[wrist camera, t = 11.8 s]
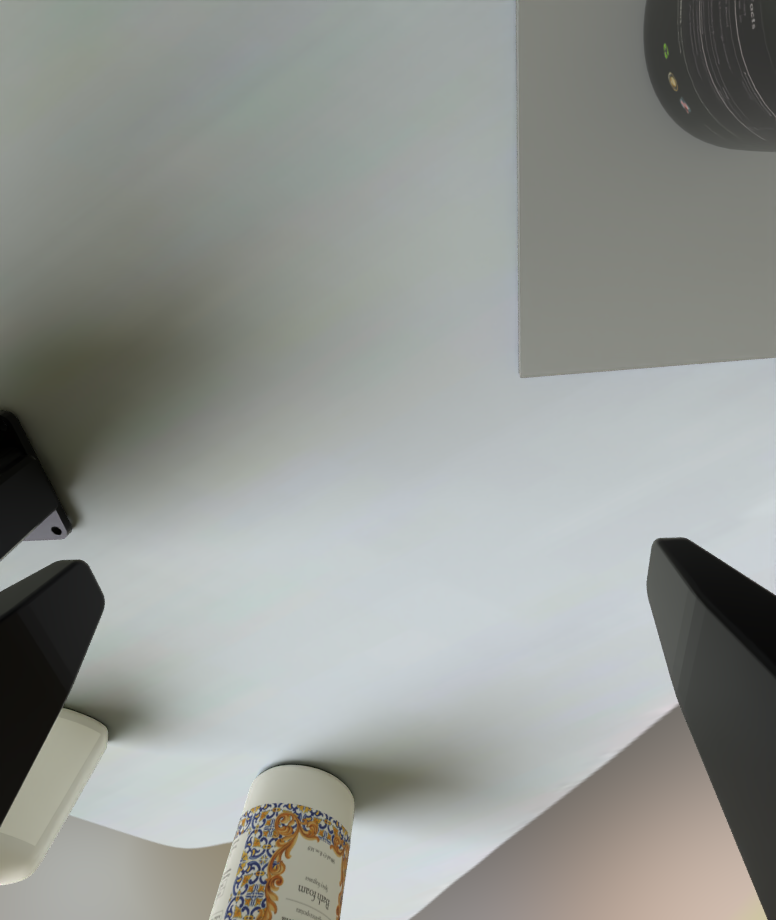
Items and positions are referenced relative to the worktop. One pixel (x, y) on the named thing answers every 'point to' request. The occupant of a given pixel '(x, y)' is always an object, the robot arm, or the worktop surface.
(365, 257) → the worktop surface
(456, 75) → the worktop surface
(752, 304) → the shelf board
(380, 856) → the worktop surface
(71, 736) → the eye dropper bottle
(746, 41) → the supplement bottle
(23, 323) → the worktop surface
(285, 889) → the bath foam
